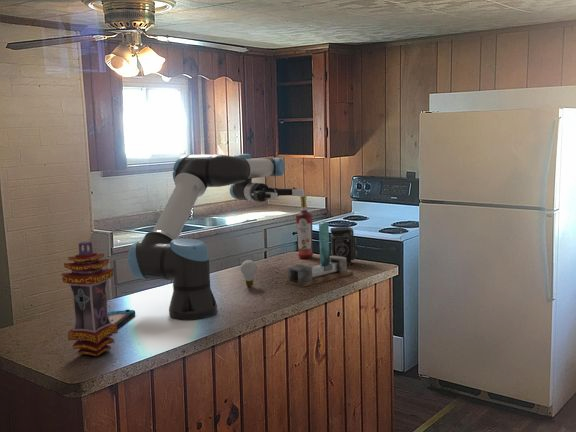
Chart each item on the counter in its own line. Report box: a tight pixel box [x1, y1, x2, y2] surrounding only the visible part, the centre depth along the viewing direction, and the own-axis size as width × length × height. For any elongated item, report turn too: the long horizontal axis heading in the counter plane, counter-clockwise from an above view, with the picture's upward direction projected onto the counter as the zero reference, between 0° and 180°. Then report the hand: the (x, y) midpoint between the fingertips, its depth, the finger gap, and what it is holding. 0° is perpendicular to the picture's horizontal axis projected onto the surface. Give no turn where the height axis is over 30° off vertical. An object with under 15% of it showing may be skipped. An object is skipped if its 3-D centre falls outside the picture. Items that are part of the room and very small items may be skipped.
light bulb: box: [240, 259, 258, 288], centre depth 230 cm, size 6×6×10 cm
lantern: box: [61, 241, 118, 357], centre depth 165 cm, size 10×9×30 cm
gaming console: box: [107, 309, 136, 337], centre depth 191 cm, size 24×2×10 cm
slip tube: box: [311, 221, 339, 277], centre depth 239 cm, size 18×4×19 cm, turn 130°
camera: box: [329, 226, 358, 266], centre depth 262 cm, size 10×10×15 cm
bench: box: [286, 255, 354, 288], centre depth 239 cm, size 26×9×7 cm, turn 130°
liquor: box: [295, 193, 314, 260], centre depth 277 cm, size 7×7×28 cm
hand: (290, 194), depth 244 cm, fingers open, 13 cm apart
